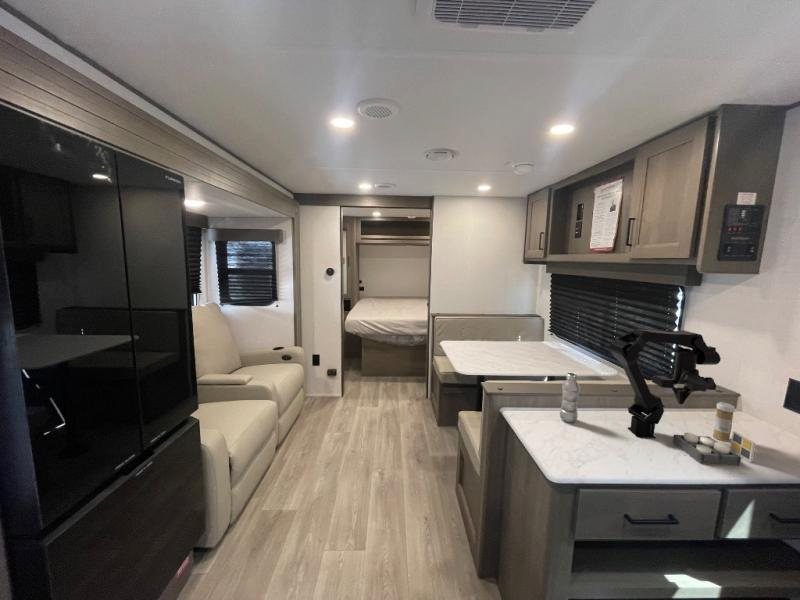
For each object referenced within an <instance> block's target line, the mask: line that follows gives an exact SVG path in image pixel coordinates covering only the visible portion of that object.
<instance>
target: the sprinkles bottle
mask: <svg viewBox="0 0 800 600" xmlns="http://www.w3.org/2000/svg"><path fill="white" fill-rule="evenodd" d="M734 412H735V406H734V405H733V404H730V403H727V402H721V401H720V402H717V403H716V413H715V420H714V426H713V433H712V437H713V438H715V439H716V440H719V441H723V442H730V440H731V439H730V437H731V431H732V426H733V417H734Z"/></svg>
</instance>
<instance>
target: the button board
mask: <svg viewBox="0 0 800 600" xmlns="http://www.w3.org/2000/svg"><path fill="white" fill-rule="evenodd" d="M697 436H698V442H697V444H691V443H688V442H686V441H685V440H683V439H684V434H673V437H672V443H673V444H674V445H675V446H677V447H678V448H679V449H680V450H681V451H683V452H684V453H686V454H687V455H689V457H690V458H692V459H693V460H695V461H696V462H698V463H699V464H702V465H703V464H704V465H717V466H731V467H732V466H733V467H740V466H741V460H742V457H741V456H739V455H737V454H736V453H734V452H733V451H731V450H729V455H726V454H719V453H718V452H716V451H715V450H713V449H714V445H707V444H704V443H703V442H701V441H700V437H707V438H710V439H712V440H714V443H715V442H718V440H717V441H716V440H715V439H714V438H712V437H710V436H704V435H697ZM697 445H704V446H706V447H709V448H710V449H711V453H702V452H700V451H699V450H697V449H696V446H697Z"/></svg>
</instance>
